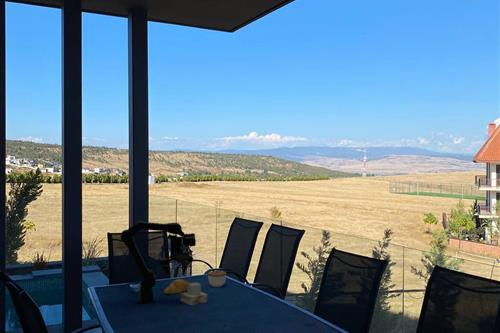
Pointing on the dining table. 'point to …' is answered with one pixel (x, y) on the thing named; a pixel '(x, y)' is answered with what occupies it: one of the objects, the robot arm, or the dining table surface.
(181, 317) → the dining table surface
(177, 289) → the croissant
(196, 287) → the sage cube
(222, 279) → the lidded jar
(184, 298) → the birch plinth
